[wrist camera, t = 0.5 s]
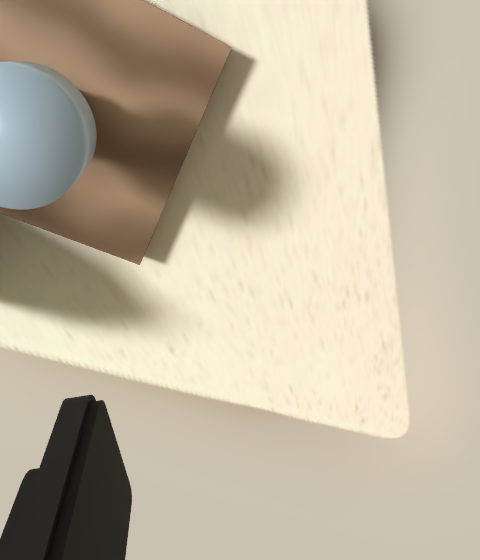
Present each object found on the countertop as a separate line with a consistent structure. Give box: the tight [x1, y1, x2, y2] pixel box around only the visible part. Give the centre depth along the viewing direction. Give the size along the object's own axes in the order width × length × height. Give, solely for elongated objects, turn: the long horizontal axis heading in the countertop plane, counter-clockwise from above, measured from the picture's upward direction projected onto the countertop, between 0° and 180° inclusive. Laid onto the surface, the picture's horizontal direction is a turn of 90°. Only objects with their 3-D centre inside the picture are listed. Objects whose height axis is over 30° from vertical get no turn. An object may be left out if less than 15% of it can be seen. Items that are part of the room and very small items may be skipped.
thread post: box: [0, 0, 231, 265], centre depth 31 cm, size 18×18×9 cm
